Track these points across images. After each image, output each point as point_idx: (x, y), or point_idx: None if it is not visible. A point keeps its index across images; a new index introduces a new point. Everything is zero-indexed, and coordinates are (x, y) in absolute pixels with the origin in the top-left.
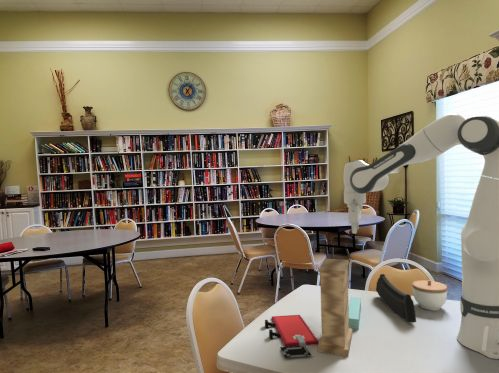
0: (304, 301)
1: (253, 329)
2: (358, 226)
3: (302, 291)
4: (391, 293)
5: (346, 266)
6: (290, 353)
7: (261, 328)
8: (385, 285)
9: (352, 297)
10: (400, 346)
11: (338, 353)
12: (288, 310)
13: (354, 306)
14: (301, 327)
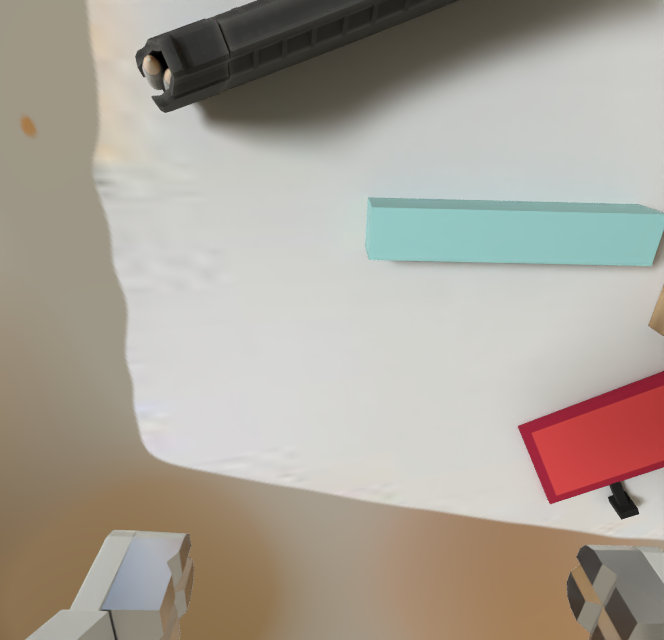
0: (362, 433)
1: (634, 523)
2: (128, 595)
3: (242, 457)
4: (405, 7)
5: None
6: None
7: None
8: (289, 43)
9: (375, 251)
10: None
11: None
12: (468, 467)
13: (505, 237)
14: (641, 407)
